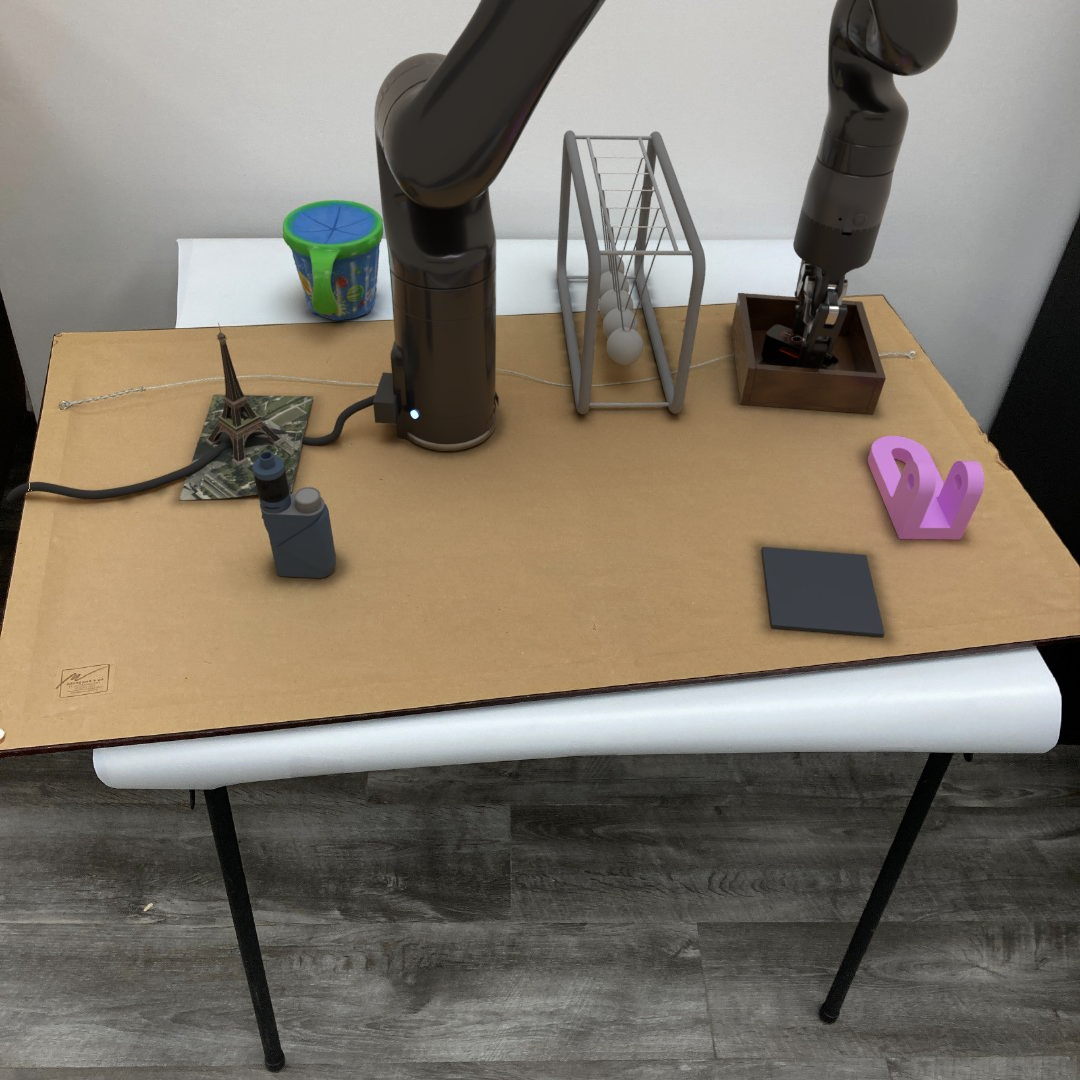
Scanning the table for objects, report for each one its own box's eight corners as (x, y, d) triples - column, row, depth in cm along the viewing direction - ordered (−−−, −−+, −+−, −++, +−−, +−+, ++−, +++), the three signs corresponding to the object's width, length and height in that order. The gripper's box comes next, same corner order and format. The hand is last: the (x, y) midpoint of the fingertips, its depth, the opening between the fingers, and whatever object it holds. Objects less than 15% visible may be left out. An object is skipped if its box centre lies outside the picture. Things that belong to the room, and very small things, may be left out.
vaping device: (277, 555, 82) (253, 443, 74) (339, 558, 82) (322, 447, 74) (270, 577, 81) (245, 465, 72) (334, 580, 81) (316, 469, 72)
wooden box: (740, 404, 100) (748, 367, 97) (731, 327, 111) (738, 292, 108) (873, 414, 100) (886, 377, 97) (851, 336, 110) (862, 301, 107)
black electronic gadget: (818, 385, 102) (825, 359, 100) (758, 359, 105) (764, 333, 103) (837, 366, 105) (845, 340, 103) (778, 341, 108) (784, 316, 106)
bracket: (960, 539, 87) (988, 480, 82) (899, 538, 87) (923, 479, 82) (916, 447, 96) (939, 389, 91) (861, 446, 96) (881, 388, 91)
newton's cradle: (555, 271, 118) (563, 123, 106) (641, 271, 119) (659, 124, 107) (577, 423, 97) (590, 260, 85) (681, 422, 98) (709, 260, 85)
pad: (771, 628, 79) (772, 624, 78) (761, 549, 85) (762, 546, 85) (883, 637, 78) (884, 633, 78) (865, 557, 85) (866, 554, 85)
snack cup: (369, 348, 105) (360, 262, 98) (274, 337, 106) (258, 250, 99) (404, 276, 116) (399, 194, 109) (318, 267, 117) (307, 184, 110)
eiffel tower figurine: (294, 499, 87) (271, 375, 78) (179, 500, 87) (141, 375, 78) (313, 399, 98) (295, 279, 89) (211, 399, 98) (181, 279, 88)
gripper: (794, 173, 97) (761, 322, 109) (812, 240, 87) (773, 397, 99) (870, 178, 97) (828, 327, 109) (896, 247, 87) (847, 403, 99)
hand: (802, 360), depth 104 cm, fingers closed on black electronic gadget, 5 cm apart
